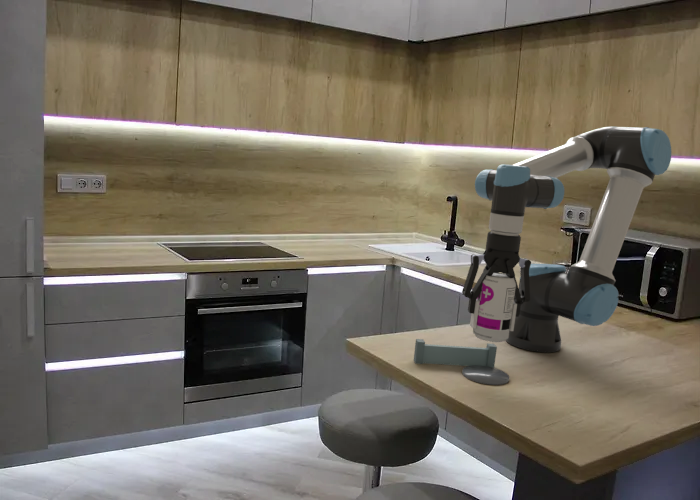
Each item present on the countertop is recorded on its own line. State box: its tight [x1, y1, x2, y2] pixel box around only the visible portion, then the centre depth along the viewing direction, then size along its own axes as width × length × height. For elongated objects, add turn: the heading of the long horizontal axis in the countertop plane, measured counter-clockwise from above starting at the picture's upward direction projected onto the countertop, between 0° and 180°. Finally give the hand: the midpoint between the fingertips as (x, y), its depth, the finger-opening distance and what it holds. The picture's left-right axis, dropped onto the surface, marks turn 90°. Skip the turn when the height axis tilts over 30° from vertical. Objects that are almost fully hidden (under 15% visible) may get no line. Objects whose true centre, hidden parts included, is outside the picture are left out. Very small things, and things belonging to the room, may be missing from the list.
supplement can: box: [472, 272, 516, 343], centre depth 150 cm, size 8×8×15 cm
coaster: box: [461, 365, 510, 386], centre depth 153 cm, size 11×11×1 cm
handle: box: [413, 338, 498, 368], centre depth 159 cm, size 20×2×6 cm, turn 95°
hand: (491, 328), depth 151 cm, fingers closed on supplement can, 8 cm apart
